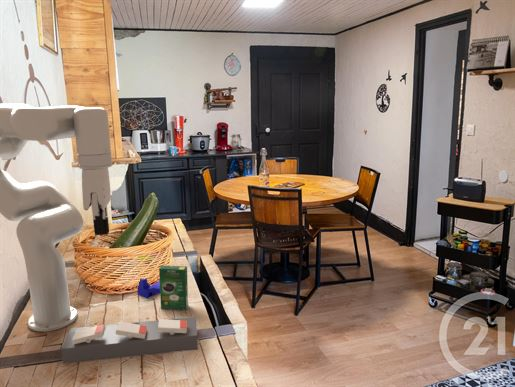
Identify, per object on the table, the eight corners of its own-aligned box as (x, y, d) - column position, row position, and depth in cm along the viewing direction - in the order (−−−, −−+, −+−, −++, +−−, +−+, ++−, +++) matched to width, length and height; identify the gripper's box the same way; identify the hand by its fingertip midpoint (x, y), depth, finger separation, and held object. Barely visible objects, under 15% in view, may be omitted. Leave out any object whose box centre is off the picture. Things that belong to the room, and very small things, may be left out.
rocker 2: (117, 327, 108) (118, 320, 108) (145, 332, 110) (147, 325, 109) (114, 336, 104) (116, 329, 104) (143, 341, 106) (145, 334, 106)
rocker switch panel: (72, 342, 112) (70, 327, 111) (196, 330, 117) (196, 315, 116) (63, 363, 103) (60, 347, 102) (197, 349, 108) (197, 334, 107)
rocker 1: (77, 337, 107) (75, 330, 107) (106, 330, 108) (104, 323, 107) (74, 346, 103) (71, 339, 103) (103, 339, 104) (101, 332, 104)
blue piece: (147, 299, 134) (145, 281, 133) (138, 295, 137) (136, 277, 136) (176, 285, 144) (175, 268, 142) (167, 281, 146) (166, 265, 145)
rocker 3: (158, 325, 110) (159, 318, 110) (185, 326, 111) (186, 320, 111) (157, 333, 106) (158, 326, 106) (185, 335, 107) (186, 328, 107)
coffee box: (189, 305, 130) (187, 265, 127) (187, 310, 127) (185, 269, 124) (163, 304, 130) (160, 264, 127) (160, 309, 128) (157, 268, 125)
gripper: (85, 156, 109) (92, 225, 113) (70, 166, 95) (79, 245, 99) (116, 155, 110) (121, 223, 115) (106, 165, 96) (113, 243, 100)
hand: (102, 233), depth 107 cm, fingers closed
